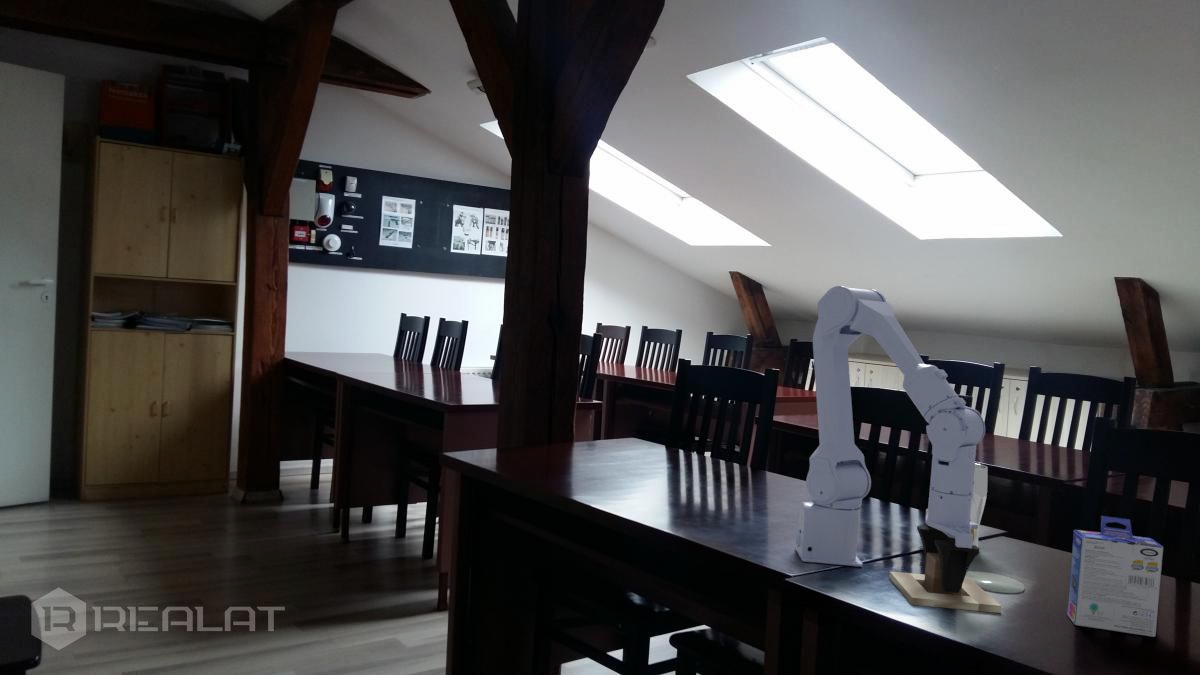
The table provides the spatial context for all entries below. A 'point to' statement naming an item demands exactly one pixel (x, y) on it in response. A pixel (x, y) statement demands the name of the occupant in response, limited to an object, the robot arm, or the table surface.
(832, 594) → the table surface
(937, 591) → the walnut block
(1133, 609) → the ink cartridge box
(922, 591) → the pocket block
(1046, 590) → the table surface
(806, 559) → the robot arm
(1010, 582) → the disc
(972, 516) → the beer glass
